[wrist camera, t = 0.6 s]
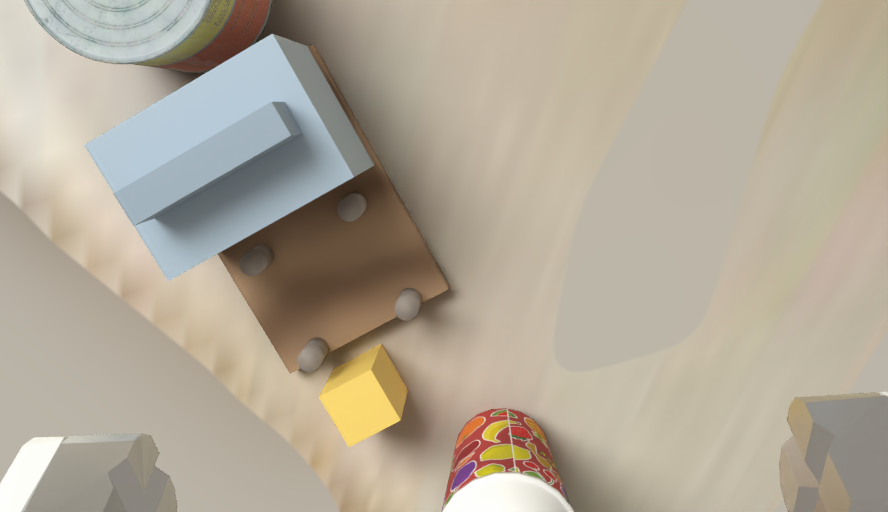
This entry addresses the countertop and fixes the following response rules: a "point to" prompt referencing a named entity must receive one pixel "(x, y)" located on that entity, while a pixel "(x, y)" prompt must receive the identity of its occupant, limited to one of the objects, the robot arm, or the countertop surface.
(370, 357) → the yellow block
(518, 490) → the smoothie
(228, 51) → the canned food
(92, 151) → the cover
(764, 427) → the countertop surface
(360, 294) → the peg board
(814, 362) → the countertop surface
